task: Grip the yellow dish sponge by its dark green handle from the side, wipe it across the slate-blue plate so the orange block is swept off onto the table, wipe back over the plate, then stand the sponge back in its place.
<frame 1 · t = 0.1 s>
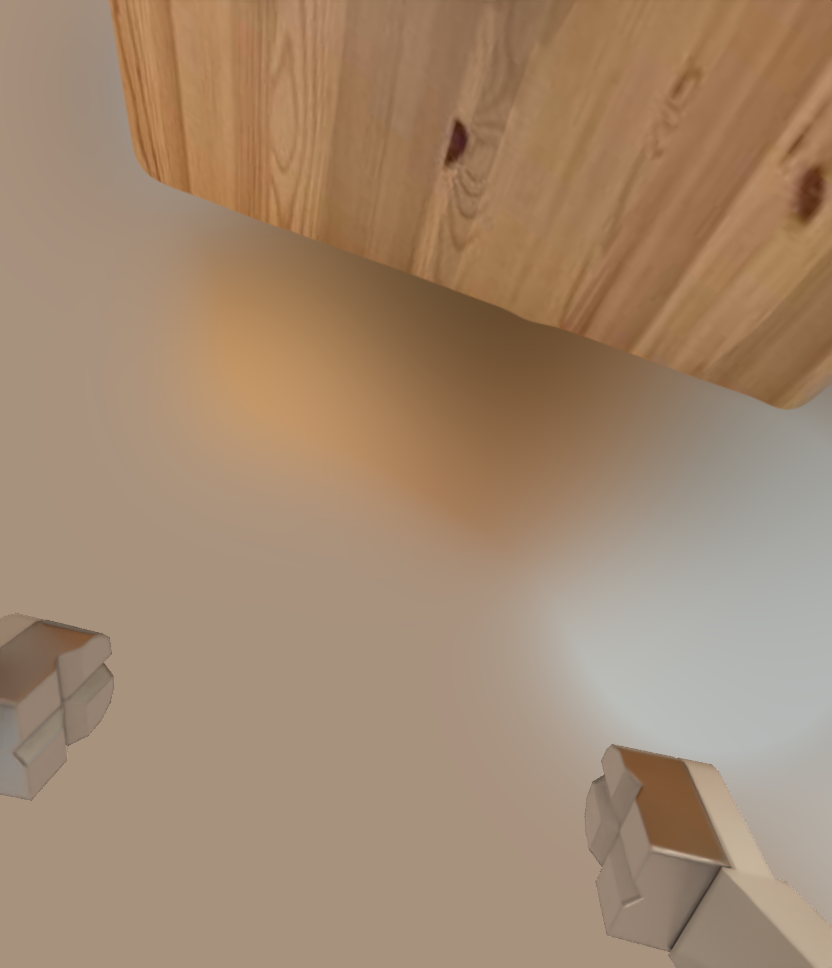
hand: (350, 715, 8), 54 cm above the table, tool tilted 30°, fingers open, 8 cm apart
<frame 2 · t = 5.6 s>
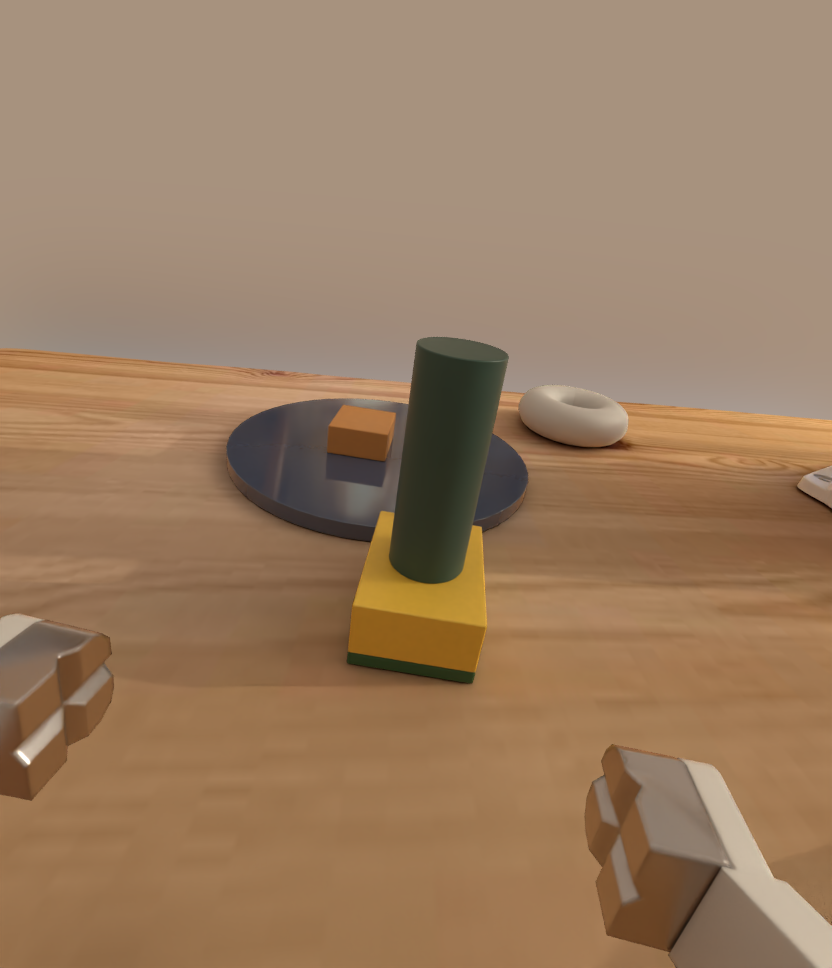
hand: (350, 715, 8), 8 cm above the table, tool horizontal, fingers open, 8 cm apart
plate: (380, 460, 37), on the table
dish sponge: (416, 613, 23), on the table
orange block: (361, 444, 36), point 1 cm above the table, touching plate
donut: (566, 433, 48), on the table
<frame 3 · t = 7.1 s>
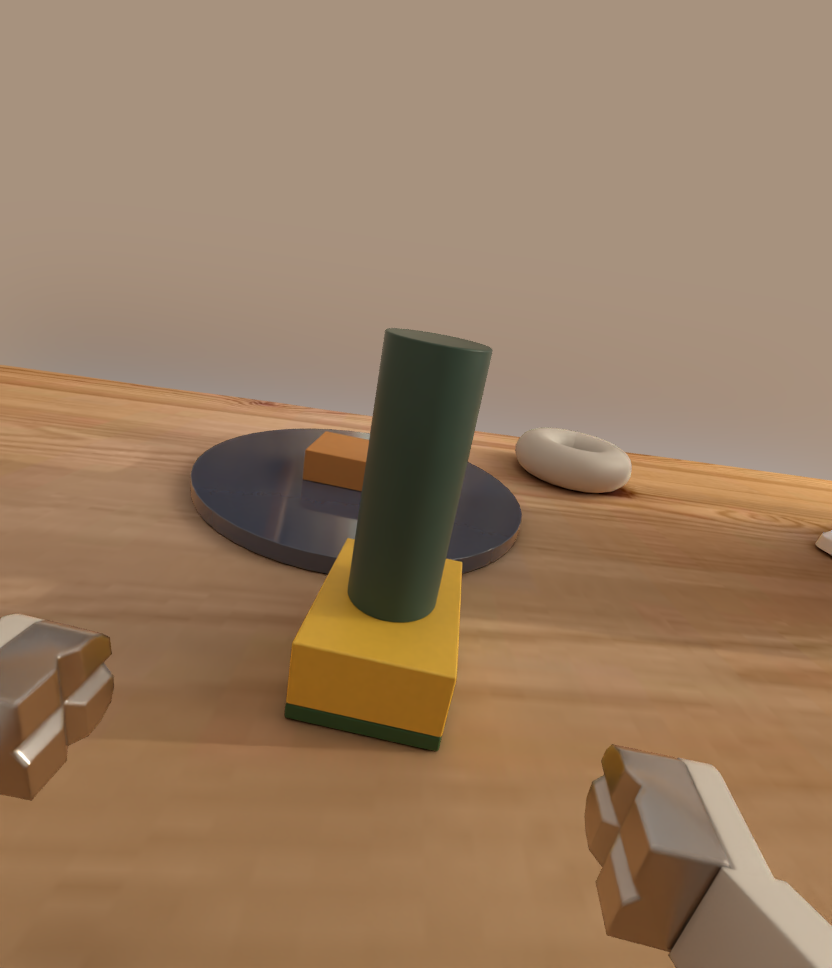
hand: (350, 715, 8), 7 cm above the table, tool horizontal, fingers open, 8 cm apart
plate: (362, 492, 34), on the table
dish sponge: (379, 660, 19), on the table
orange block: (342, 474, 33), point 1 cm above the table, touching plate
donut: (566, 478, 45), on the table
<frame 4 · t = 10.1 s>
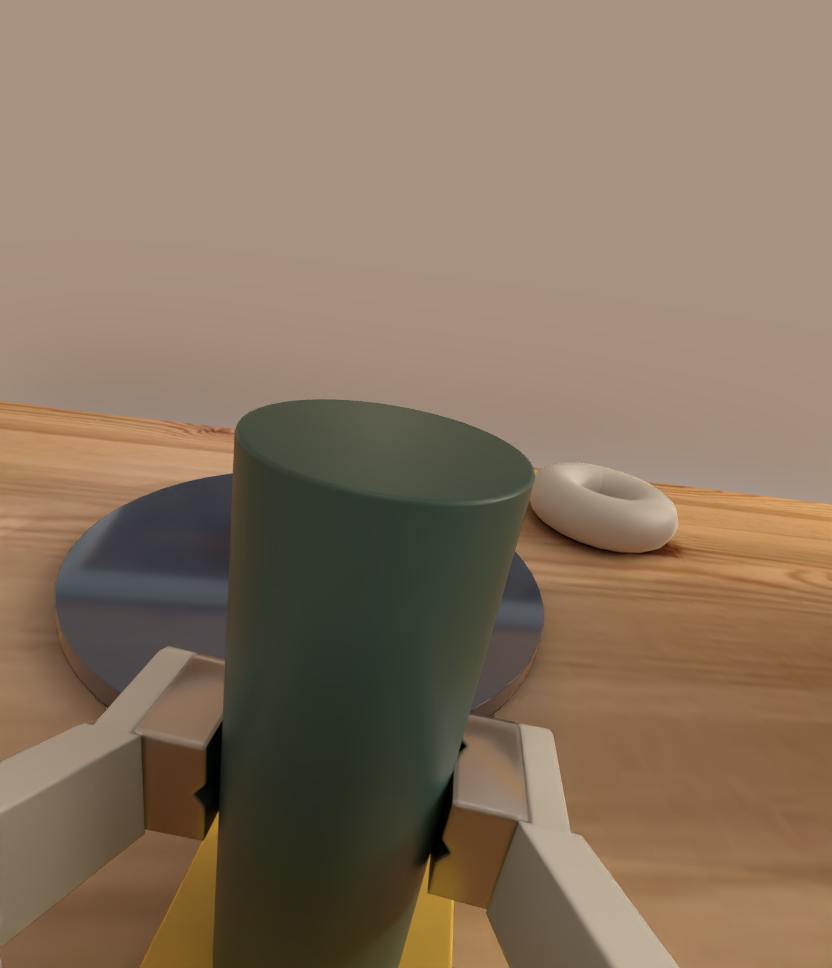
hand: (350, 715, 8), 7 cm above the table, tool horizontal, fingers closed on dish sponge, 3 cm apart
plate: (322, 572, 24), on the table
donut: (592, 527, 36), on the table
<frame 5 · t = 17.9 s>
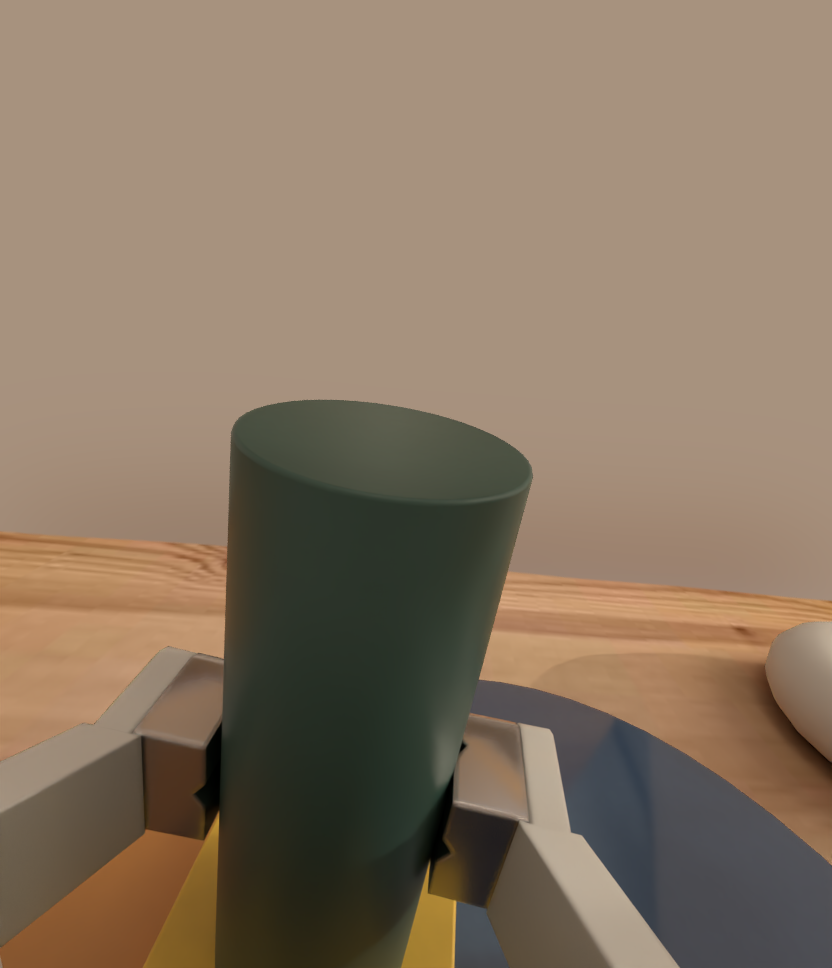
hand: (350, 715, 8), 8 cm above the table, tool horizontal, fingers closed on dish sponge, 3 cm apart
orange block: (88, 955, 10), point 1 cm above the table, touching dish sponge
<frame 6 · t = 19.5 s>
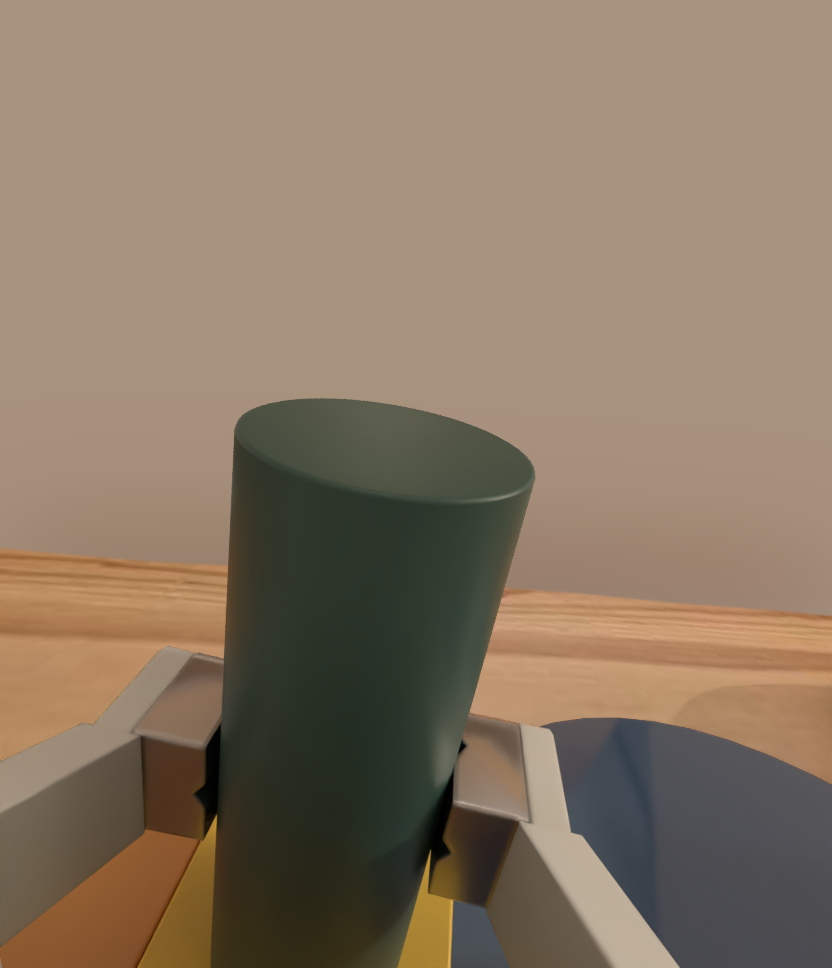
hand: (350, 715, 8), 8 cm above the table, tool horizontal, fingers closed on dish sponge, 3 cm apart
when the fingers open (8 cm above the table, at t = 28.2 s): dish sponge stays where it is, on the table.
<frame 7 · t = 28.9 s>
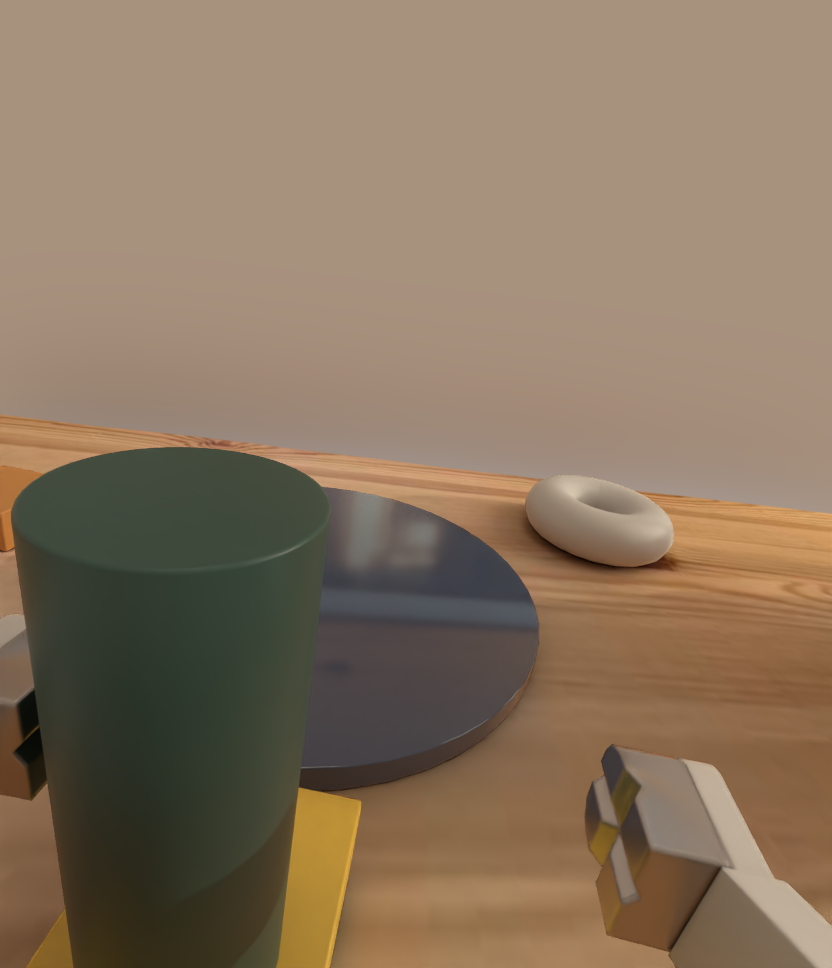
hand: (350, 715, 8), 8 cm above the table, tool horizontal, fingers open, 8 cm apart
plate: (320, 590, 25), on the table
orange block: (7, 523, 26), on the table
donut: (588, 540, 36), on the table
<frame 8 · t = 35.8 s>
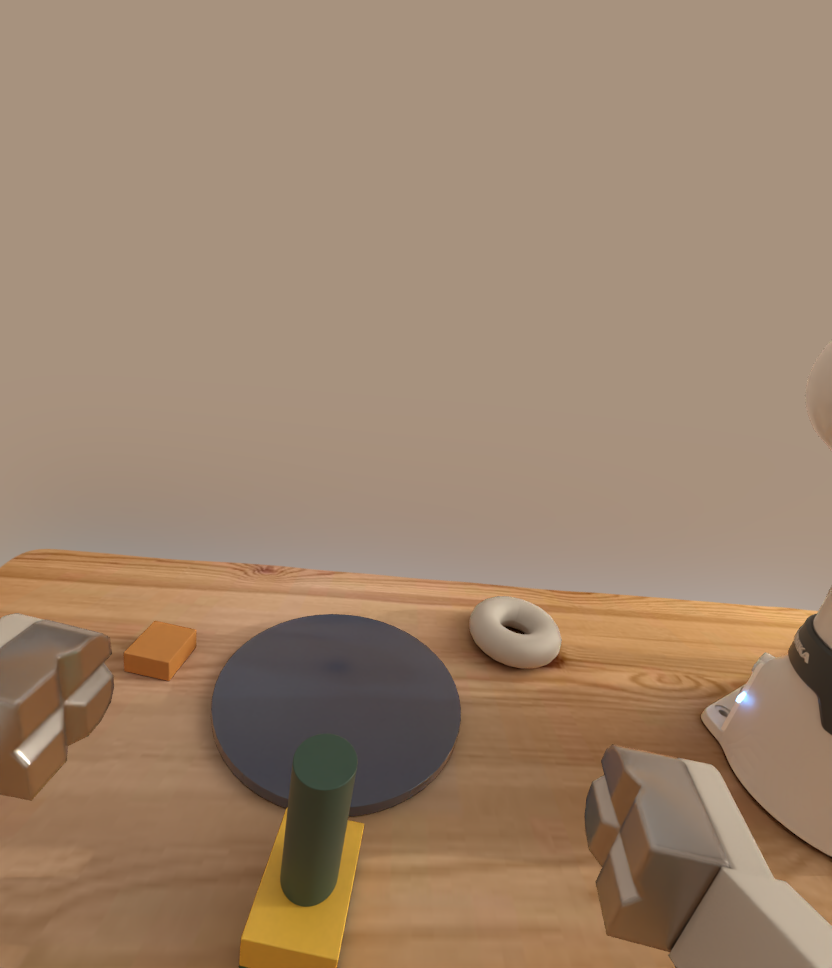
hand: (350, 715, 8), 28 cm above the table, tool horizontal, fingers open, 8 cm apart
plate: (340, 698, 44), on the table
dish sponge: (304, 907, 30), on the table
orange block: (161, 658, 45), on the table
donut: (510, 644, 56), on the table
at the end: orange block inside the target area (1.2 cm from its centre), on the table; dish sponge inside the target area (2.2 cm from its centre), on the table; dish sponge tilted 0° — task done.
